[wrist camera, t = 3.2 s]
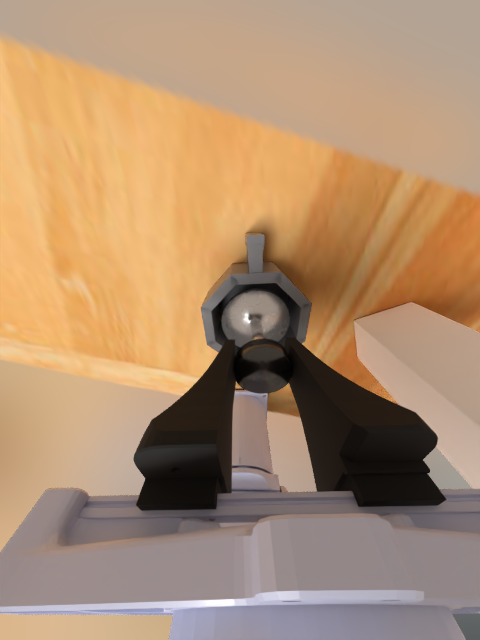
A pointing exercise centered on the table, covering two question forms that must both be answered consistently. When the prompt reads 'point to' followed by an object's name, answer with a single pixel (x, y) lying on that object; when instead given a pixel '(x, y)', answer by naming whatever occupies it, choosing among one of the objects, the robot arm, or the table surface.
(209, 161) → the table surface
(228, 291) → the grey jug
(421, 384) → the milk
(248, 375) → the plunger
